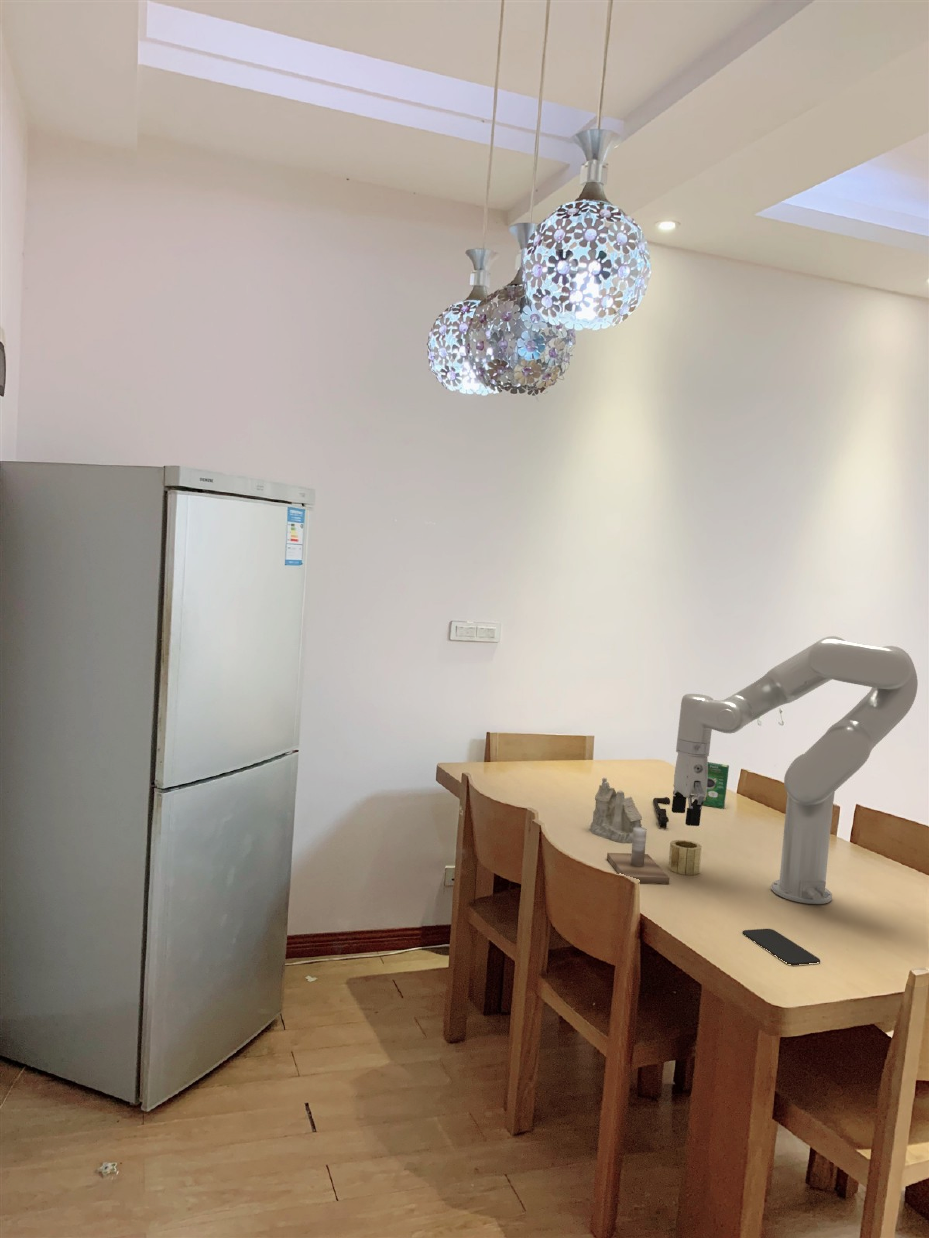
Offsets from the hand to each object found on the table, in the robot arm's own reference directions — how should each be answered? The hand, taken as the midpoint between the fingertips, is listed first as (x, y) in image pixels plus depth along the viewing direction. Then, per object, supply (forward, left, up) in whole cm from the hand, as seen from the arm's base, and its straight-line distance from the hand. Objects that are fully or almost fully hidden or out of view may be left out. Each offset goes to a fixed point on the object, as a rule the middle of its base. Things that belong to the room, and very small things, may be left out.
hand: (685, 818), depth 211 cm
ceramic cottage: (+27, +7, -12) cm, 31 cm away
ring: (0, -1, -12) cm, 12 cm away
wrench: (+45, -11, -13) cm, 48 cm away
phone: (-42, -5, -13) cm, 44 cm away
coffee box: (+58, -30, -12) cm, 66 cm away
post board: (-2, +11, -12) cm, 17 cm away
